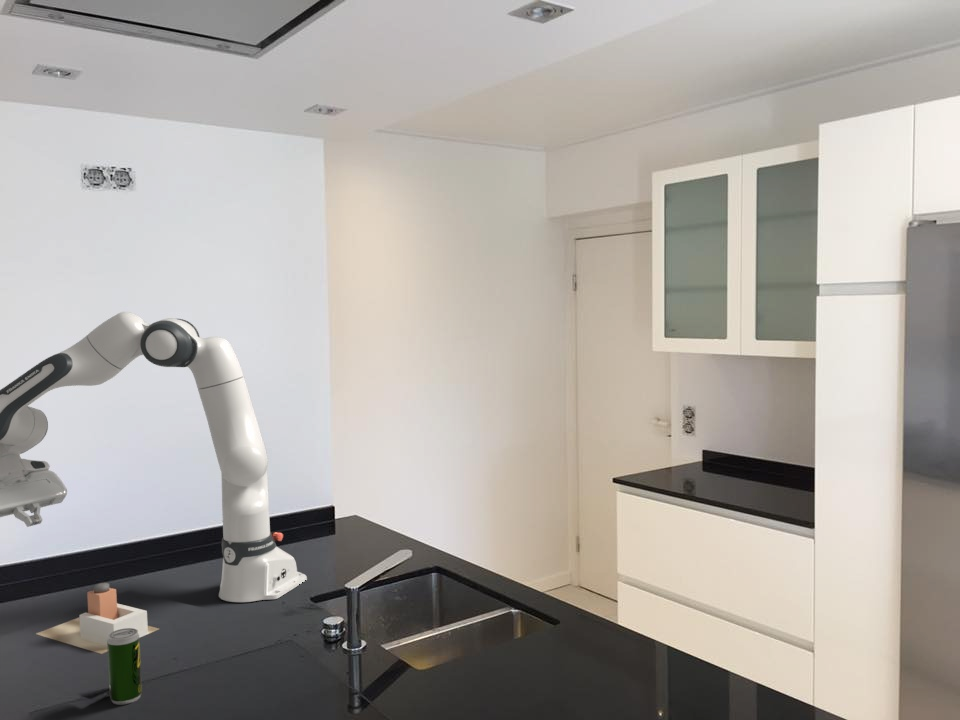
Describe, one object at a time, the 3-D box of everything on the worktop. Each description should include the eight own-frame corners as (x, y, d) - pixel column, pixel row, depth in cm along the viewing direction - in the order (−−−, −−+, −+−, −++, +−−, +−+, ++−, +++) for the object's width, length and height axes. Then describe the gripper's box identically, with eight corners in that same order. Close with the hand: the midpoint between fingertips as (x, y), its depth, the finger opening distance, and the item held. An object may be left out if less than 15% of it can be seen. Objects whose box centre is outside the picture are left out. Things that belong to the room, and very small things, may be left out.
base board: (94, 618, 185) (94, 611, 185) (160, 635, 175) (159, 628, 175) (35, 640, 173) (35, 633, 173) (101, 661, 162) (101, 653, 162)
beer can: (112, 708, 143) (109, 642, 142) (107, 696, 147) (104, 632, 147) (145, 699, 146) (142, 634, 145) (139, 688, 150) (136, 625, 150)
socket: (114, 624, 177) (113, 602, 177) (148, 633, 172) (146, 610, 172) (80, 638, 170) (79, 614, 170) (114, 648, 165) (113, 624, 165)
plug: (106, 627, 176) (103, 580, 175) (118, 630, 174) (115, 583, 173) (89, 633, 172) (86, 586, 171) (101, 637, 170) (99, 589, 169)
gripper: (-36, 477, 176) (-7, 526, 172) (53, 460, 194) (82, 504, 190) (-46, 495, 178) (-17, 544, 174) (43, 477, 196) (71, 521, 192)
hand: (35, 523), depth 182 cm, fingers closed
